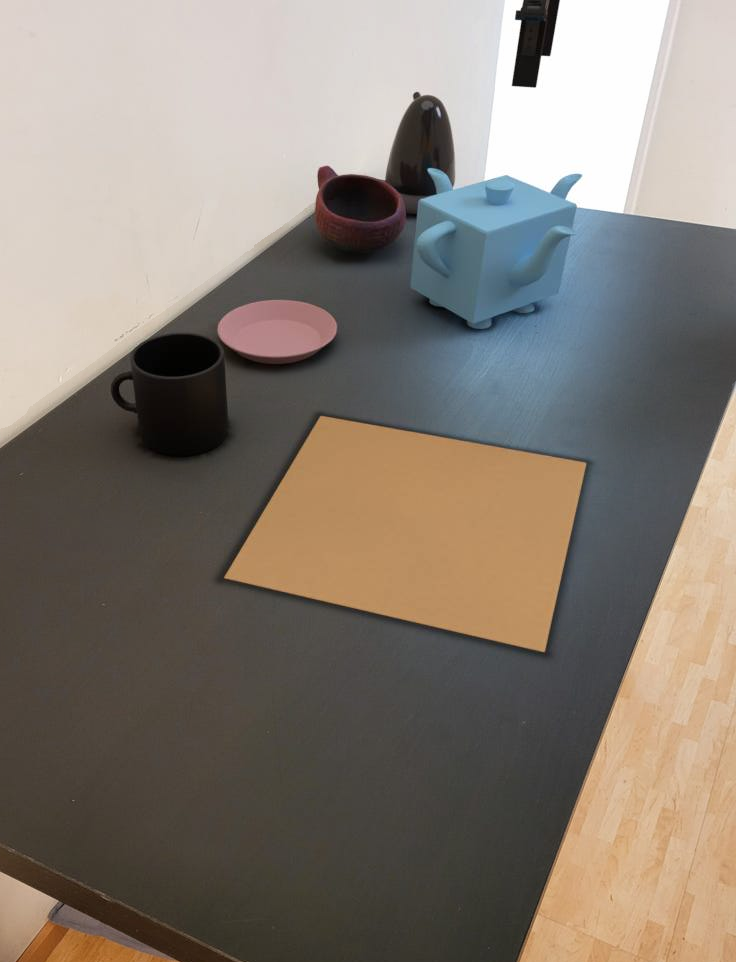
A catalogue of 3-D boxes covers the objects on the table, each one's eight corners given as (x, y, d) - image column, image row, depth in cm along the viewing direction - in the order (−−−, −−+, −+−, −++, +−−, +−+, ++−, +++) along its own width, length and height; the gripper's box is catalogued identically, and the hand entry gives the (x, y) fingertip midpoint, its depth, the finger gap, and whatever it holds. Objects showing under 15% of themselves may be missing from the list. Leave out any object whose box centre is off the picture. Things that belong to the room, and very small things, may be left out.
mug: (125, 407, 104) (114, 330, 97) (233, 409, 103) (229, 332, 96) (108, 455, 97) (95, 376, 90) (223, 458, 96) (218, 379, 89)
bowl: (420, 240, 133) (426, 181, 127) (375, 273, 126) (379, 212, 120) (324, 218, 140) (325, 160, 134) (276, 248, 132) (275, 189, 127)
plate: (360, 347, 112) (361, 331, 110) (262, 385, 106) (262, 368, 105) (290, 304, 120) (290, 289, 119) (195, 337, 114) (194, 321, 113)
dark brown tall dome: (439, 192, 146) (450, 82, 135) (460, 217, 138) (474, 103, 128) (375, 198, 145) (382, 87, 134) (393, 223, 137) (402, 109, 127)
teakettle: (401, 332, 114) (413, 208, 103) (416, 267, 127) (428, 150, 116) (561, 345, 111) (589, 218, 100) (560, 276, 123) (585, 157, 113)
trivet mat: (586, 464, 94) (586, 462, 94) (544, 653, 76) (544, 652, 76) (320, 417, 101) (320, 415, 101) (223, 579, 83) (223, 577, 83)
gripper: (546, -175, 106) (515, 41, 121) (514, -149, 90) (482, 98, 105) (615, -176, 104) (574, 44, 119) (595, -149, 88) (551, 102, 103)
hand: (531, 70), depth 112 cm, fingers open, 13 cm apart
